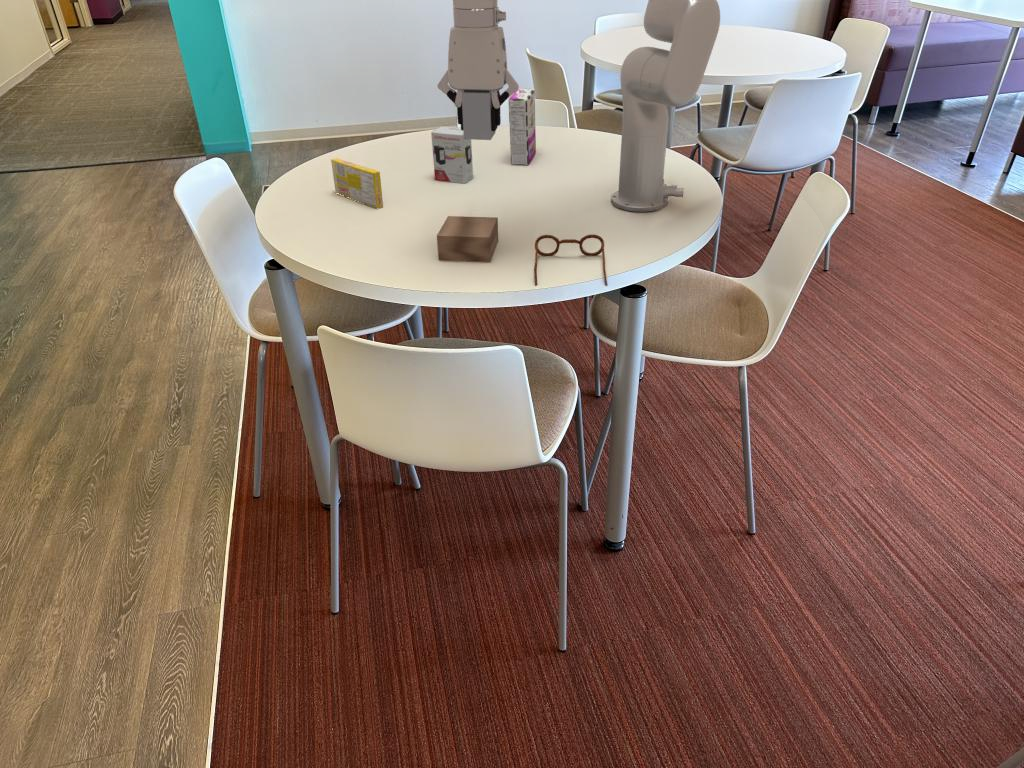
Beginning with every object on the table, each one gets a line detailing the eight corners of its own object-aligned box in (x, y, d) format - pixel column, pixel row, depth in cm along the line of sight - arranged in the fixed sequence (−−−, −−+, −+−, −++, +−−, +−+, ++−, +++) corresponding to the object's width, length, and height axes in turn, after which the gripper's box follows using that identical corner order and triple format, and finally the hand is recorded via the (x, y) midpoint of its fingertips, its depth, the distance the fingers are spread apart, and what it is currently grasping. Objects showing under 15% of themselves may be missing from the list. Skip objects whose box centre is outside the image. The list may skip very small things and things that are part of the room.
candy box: (385, 207, 162) (380, 170, 157) (377, 210, 161) (372, 173, 156) (342, 191, 171) (336, 157, 167) (335, 194, 170) (329, 159, 165)
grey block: (495, 132, 135) (494, 87, 130) (490, 140, 131) (489, 93, 126) (469, 131, 135) (467, 87, 131) (463, 139, 131) (461, 93, 127)
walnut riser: (498, 241, 144) (497, 217, 141) (490, 262, 136) (489, 237, 133) (449, 239, 145) (448, 216, 142) (438, 260, 137) (436, 235, 134)
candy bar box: (518, 152, 193) (516, 88, 184) (536, 153, 192) (535, 88, 183) (509, 165, 184) (507, 98, 175) (528, 166, 183) (527, 98, 174)
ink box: (433, 180, 176) (429, 131, 169) (442, 174, 180) (438, 126, 173) (465, 184, 173) (462, 134, 166) (473, 177, 177) (471, 128, 170)
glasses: (603, 257, 138) (604, 232, 135) (607, 287, 127) (609, 261, 124) (534, 257, 138) (534, 232, 135) (533, 287, 127) (533, 262, 125)
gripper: (528, 16, 124) (528, 125, 134) (432, 15, 126) (439, 122, 136) (521, 22, 118) (522, 135, 128) (421, 21, 120) (429, 132, 130)
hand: (479, 127), depth 132 cm, fingers closed on grey block, 5 cm apart
